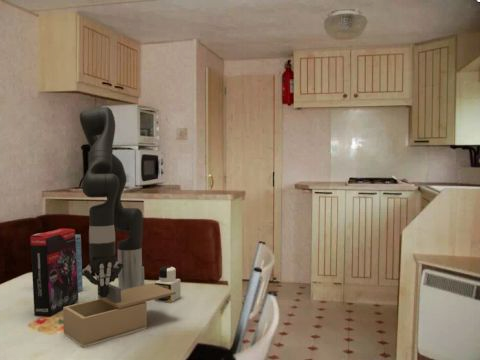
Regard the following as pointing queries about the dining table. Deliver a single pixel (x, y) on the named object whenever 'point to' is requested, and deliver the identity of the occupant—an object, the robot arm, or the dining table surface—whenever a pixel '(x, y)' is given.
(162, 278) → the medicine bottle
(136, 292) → the lid
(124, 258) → the robot arm
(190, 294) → the dining table surface
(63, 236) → the graphics card box
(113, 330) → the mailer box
